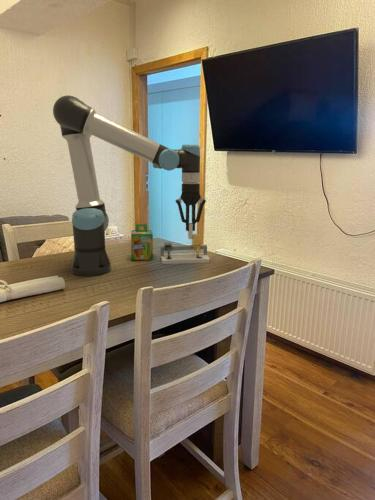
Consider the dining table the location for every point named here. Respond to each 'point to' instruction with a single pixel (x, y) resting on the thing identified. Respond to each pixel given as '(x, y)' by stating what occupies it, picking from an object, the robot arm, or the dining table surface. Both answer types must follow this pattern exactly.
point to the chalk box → (141, 243)
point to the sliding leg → (196, 243)
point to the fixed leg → (168, 248)
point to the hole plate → (185, 255)
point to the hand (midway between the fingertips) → (190, 238)
